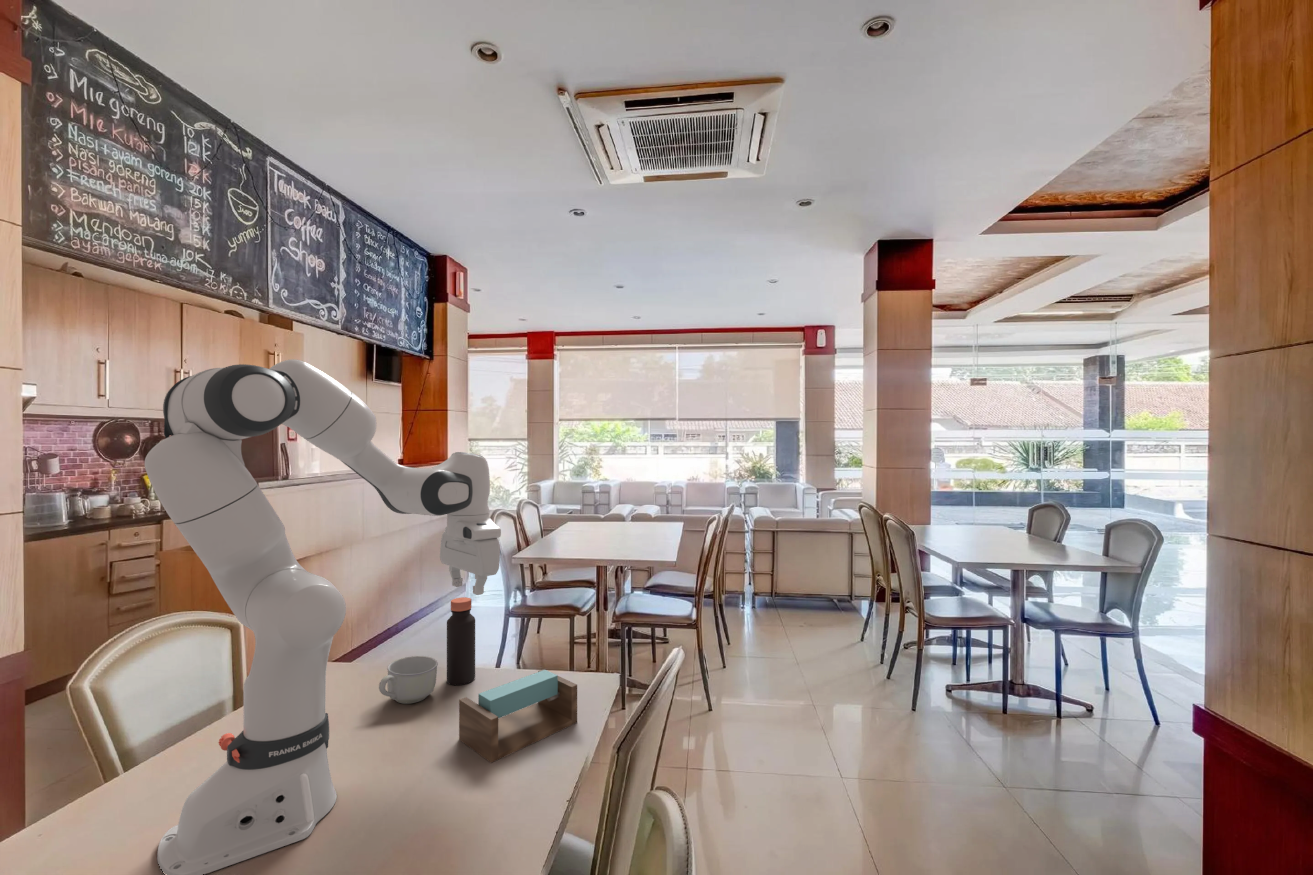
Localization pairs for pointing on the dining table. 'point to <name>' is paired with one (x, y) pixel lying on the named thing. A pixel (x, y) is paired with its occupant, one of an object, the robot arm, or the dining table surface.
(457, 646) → the bottle
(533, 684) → the shelf board
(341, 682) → the dining table surface
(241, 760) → the robot arm
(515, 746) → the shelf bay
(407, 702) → the teacup
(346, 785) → the dining table surface
